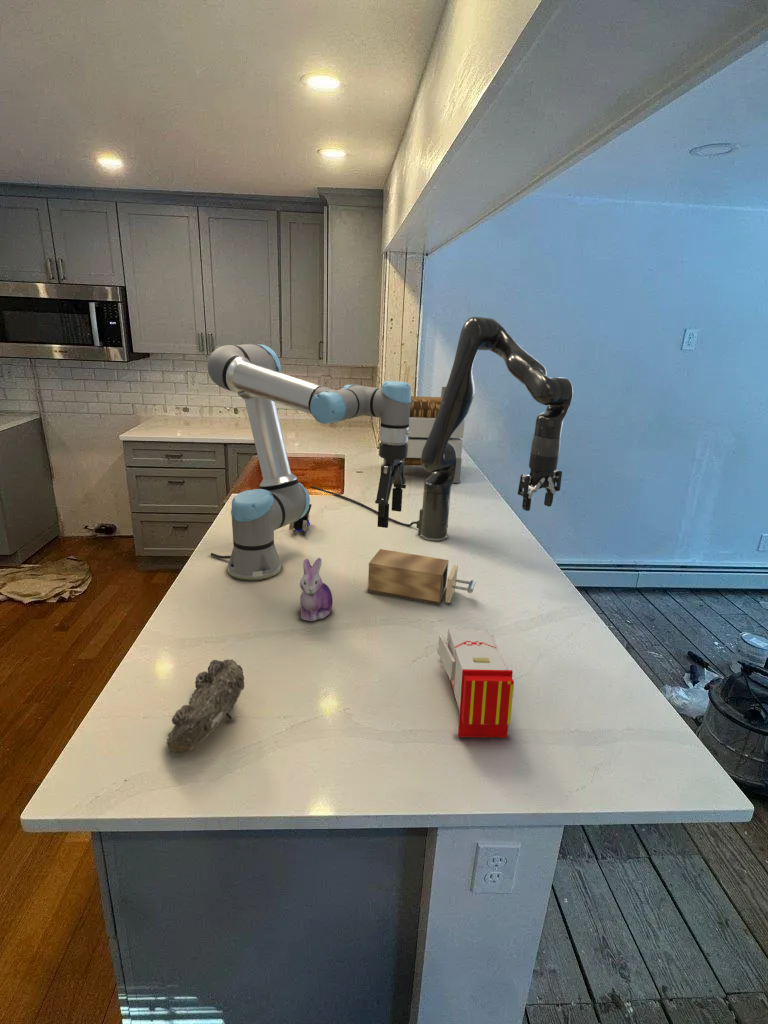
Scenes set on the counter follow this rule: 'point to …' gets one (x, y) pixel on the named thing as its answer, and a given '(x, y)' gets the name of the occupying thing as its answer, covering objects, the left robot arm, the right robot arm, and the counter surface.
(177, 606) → the counter surface
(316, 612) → the figurine
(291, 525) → the figurine character
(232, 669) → the fossil
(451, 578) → the drawer
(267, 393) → the left robot arm
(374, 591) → the cabinet
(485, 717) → the toy
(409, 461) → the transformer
